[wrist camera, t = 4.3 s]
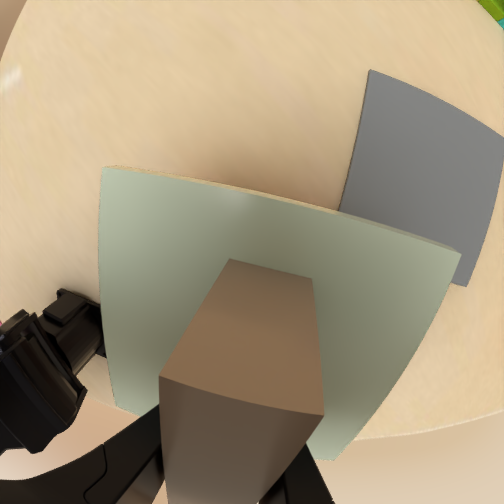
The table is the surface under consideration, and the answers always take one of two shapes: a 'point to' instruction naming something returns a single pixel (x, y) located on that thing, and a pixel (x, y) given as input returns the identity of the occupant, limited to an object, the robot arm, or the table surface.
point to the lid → (254, 323)
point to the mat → (424, 169)
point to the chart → (494, 9)
